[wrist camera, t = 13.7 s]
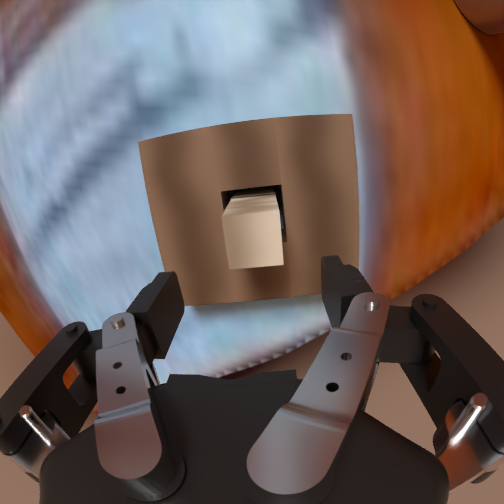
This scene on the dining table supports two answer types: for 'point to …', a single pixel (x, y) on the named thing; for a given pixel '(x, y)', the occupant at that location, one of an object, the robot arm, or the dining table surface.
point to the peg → (253, 229)
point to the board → (248, 176)
